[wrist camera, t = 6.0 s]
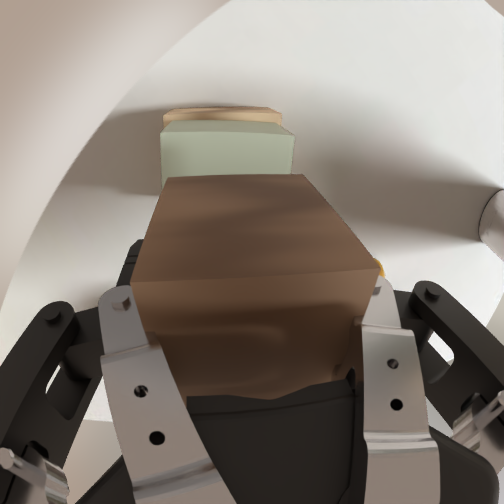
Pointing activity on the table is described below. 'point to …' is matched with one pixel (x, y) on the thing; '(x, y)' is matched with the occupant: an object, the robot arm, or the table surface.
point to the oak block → (224, 114)
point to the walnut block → (250, 284)
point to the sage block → (224, 148)
